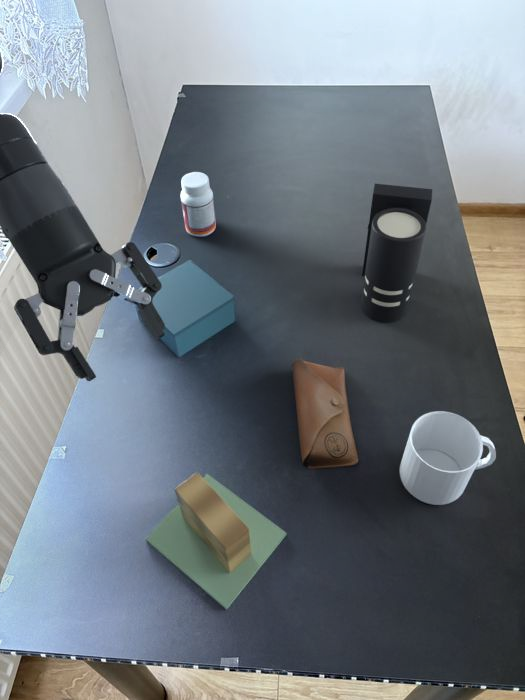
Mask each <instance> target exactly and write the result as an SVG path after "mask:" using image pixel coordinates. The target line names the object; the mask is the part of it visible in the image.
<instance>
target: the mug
mask: <svg viewBox="0 0 525 700" xmlns="http://www.w3.org/2000/svg"><path fill="white" fill-rule="evenodd" d="M406 441H407V442H406V445H405V448H404V451H403V453H402V457H401V461H400V464H399V477H400V481H401V483H402V485H403V486H404V488H405V490H406V491H407V492H408V493H409V494H410V495H412V496H413V497H414V498H415V499H416V500H419V501H420V502H423V503H425V504H429V505H434V506H443V505H448V504H451V503H453V502H454V501H456V500H458V499H459V498H460V497H461V496H462V495H463V494H464V492H465V489H466V487H467V485H468V483H469V481H470V480H471V477H472V476H473V473H474V472H475V470H480V469H484V468H486V467H489V466H491V465H493V463H494V462H495V460H497V451H496V448H495V444H494V443H493V441H492V440H491V439H490V438H489V437H488V436H484V435H481V434H480V432H479V430H478V429H477V428H476V426H475V425H474V424H473V423H471V422H470V421H469V420H468V419H467V418H465V417H463V416H461V415H459V414H457V413H454V412H451V411H445V410H435V411H430V412H427V413H424V414H422V415H421V416H419V417H418V418H417V419H416V420H415V421H414V422H413V424H412V426H411V429H410V432H409V435H408V437H407V440H406ZM484 446H486V447H487V449H488V450H489V452H488V454H487V456H486V457H484V458H482V456H483V452H484Z"/></svg>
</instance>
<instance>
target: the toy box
mask: <svg viewBox="0 0 525 700" xmlns="http://www.w3.org/2000/svg"><path fill="white" fill-rule="evenodd" d="M157 278H158V279H159V281H160V282H161V284H162V288H161V289H160V290H159V291H158V292H157V293H156V295H155V296H154V297H153V299H152V303H153V305H154V307H155V309H156V310H157V312H158V314H159V315H160V317H161V319H162V320H163V322H164V324H165V329H164V330H163V332H164V334H165V335H164V336H163V337H161V338H160V339H159V340H160V341H161V342H162V343H163V344H164V345H166V346H167V347H168V348H169V350H171V352H173V353H174V354H175V355H176V356H177V358H181V357H182V356H184V355H185V354H187V353H188V352H190V351H192V350H193V349H195V348H196V347H198V346H200V345H201V344H203V343H204V342H205V341H206V340H209V338H212V337H213V336H215V335H216V334H218V333H219V332H221V331H222V330H224V329H225V328H227V327H228V326H231V325H232V324H233V323H236V316H235V314H236V313H235V305H234V301H235V300H236V298H235V297H236V296H235V295H233V294H232V293H231V292H230V291H229V290H227V289H226V288H225V287H224V286H222V284H221V283H219V282H218V281H216V280H215V279H214V278H213V277H211V275H209V274H208V273H206V272H205V271H204V270H203V269H201V267H199V266H198V265H197V264H195V262H193V261H192V260H190V259H188V260H187V261H185V262H184V263H182V264H180V265H178V266H176V267H175V268H173V269H170V270H169V271H167V272H166V273H164V274H162V275H161V276H158V277H157ZM137 289H138V290H140V291H142V290H143V289H144V288H143V287H142V286H141V287H139V288H137ZM134 307H135V310H136V313H137V317H138V319H139V320H140V321H141V322H142V323H143V324H144V325H145V323H144V322H143V320H142V318H141V317H140V315H139V313H138V312H137V311H138V310H139V308H138V307H137V306H135V305H134Z"/></svg>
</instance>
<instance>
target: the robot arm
mask: <svg viewBox="0 0 525 700" xmlns="http://www.w3.org/2000/svg"><path fill="white" fill-rule="evenodd" d="M3 57H4V56H3V53H2V50H1V49H0V75H1V74H2V72H3V67H4V58H3ZM0 228H1V232H2V234H3V235H4V236H5V238H7V239H8V241H9V242H10V244H11V245H12V247H13V249H14V251H15V252H16V253H17V255H18V256H19V258H20V260H21V261H22V263H23V264H24V266H25V267H26V269H27V271H28V272H29V274H30V275H31V277H32V278H33V280H34V282H35V284H36V286H37V290H38V292H37V293H35V294H33V295H31V296H29V297H26V298H19V299H18V300H16V302H15V304H14V305H13V306H14V307H13V310H14V311H15V313H16V315H17V317H18V319H19V320H20V322H21V324H22V326H23V327H24V329H25V331H26V332H27V334H28V336H29V338H30V340H31V341H32V343H33V345H34V346H35V349H36V351H37V352H38V354H40V355H41V356H47V355H52V354H53V355H54V354H60V355H61V356H62V357H63V358H64V360H65V361H66V362H67V364H68V366H69V367H70V369H71V370H72V371H73V373H74V375H75V376H76V377H77V378H79V380H83V379H85V380H86V381H87V382H91V381H93V380H95V379H96V378H97V375H96V374H95V372H94V370H93V368H92V367H91V365H90V364H89V363H88V361H87V359H86V357H85V356H84V355H83V353H82V352H81V350H80V348H79V347H78V346H75V345H74V339H75V338H74V337H75V329H76V325H77V317H83V316H85V315H87V314H88V313H90V312H92V311H93V310H94V309H95V308H96V307H100V306H102V305H104V304H106V303H108V302H110V301H112V298H114V299H117V300H119V301H124V302H126V303H129V304H131V305H133V306H134V307H135V306H137V307H138V308H139V310H138V311H137V310H136V313H137V312H138V313H139V315H140V317H141V318H142V320H143V322H144V323H145V324H144V323H143V322H142V323H143V324H144V325H145V327H146V328H147V330H148V332H149V333H150V335H151V337H152V338H153V339H154V340H155V341H156V340H161V339H160V338H161V337H163V336H164V335H165V334H164V332H163V330H164V329H165V324H164V322H163V320H162V319H161V317H160V315H159V314H158V312H157V310H156V309H155V307H154V305H153V303H152V299H153V297H154V296H155V295H156V293H157V292H158V291H159V290H160V289H161V288H162V284H161V282H160V281H159V279H158V278H159V277H158V276H157V275H156V273H155V272H154V270H153V269H152V267H151V266H150V265H149V262H148V261H147V260H146V258H145V257H144V255H143V254H142V252H141V251H140V249H139V248H138V246H137V245H136V244H135V242H132V241H129V242H127V243H125V244H124V245H123V246H122V247H121V248H120V249H118V250H116V251H115V252H113V253H111V254H110V253H108V252H107V251H106V250H105V249H104V248H103V247H102V245H101V243H100V242H99V240H98V238H97V237H96V235H95V233H94V232H93V229H92V228H91V227H90V225H89V223H88V222H87V220H86V218H85V216H84V215H83V213H82V211H81V210H80V209H79V207H78V205H77V203H76V201H75V200H74V198H73V197H72V195H71V193H70V192H69V190H68V189H67V187H66V185H65V184H64V183H63V181H62V180H61V178H59V176H58V175H57V174H56V173H55V171H54V170H53V168H52V167H51V165H50V164H49V162H48V161H47V159H46V157H45V155H44V153H43V152H42V150H41V149H40V147H39V145H38V144H37V142H36V140H35V139H34V137H33V135H32V134H31V133H30V131H29V129H28V128H27V126H26V124H25V123H23V121H22V120H21V119H20V118H19V117H17V116H16V115H14V114H11V113H6V112H4V113H3V112H2V113H0ZM117 264H120V265H121V266H122V268H124V269H130V270H131V272H132V274H133V275H134V276H135V278H136V280H137V281H138V283H139V284H140V286H141V287H143V288H144V289H143V290H142V291H140V290H138V289H139V288H136V287H134V286H133V285H131V284H130V283H128V282H125V281H123V280H121V279H118V278H116V271H117V270H116V269H117ZM42 303H43V304H45V305H47V306H49V307H52V308H54V309H57V310H59V318H58V334H57V339H56V340H52V341H51V339H50V338H49V336H48V334H47V332H46V331H45V329H44V327H43V325H42V324H41V321H40V320H39V317H40V316H41V314H42V309H41V304H42Z"/></svg>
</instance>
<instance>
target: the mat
mask: <svg viewBox="0 0 525 700" xmlns="http://www.w3.org/2000/svg"><path fill="white" fill-rule="evenodd" d="M202 477H203V478H204V480H205V481H206V482H207V483H208V484H209V485H210V486H211V487H212V488H213V489H214V491H215V492H216V493H217V494H218V495H219V496H220V497H221V498H222V499H223V500H224V502H225V503H226V504H227V505H228V506H229V507H230V508H231V509H232V510H233V511H234V513H235V514H236V515H237V516H238V517H239V518H240V519H241V520H242V521H243V522H244V524H245V525H246V526H247V527H248V528H249V535H250V544H251V555H250V556H249V557H248V558H247V559H246V560H244V561H243V562H242V563H241V564H240V565H239V566H238V567H236V568H235V569H234V570H233V571H232V572H231V573H229V571H228V570H227V569H226V568H225V567H224V565H223V564H222V563H221V562H220V561H219V559H218V558H217V557H216V556H215V555H214V554H213V552H212V551H211V550H210V549H209V548H208V546H207V545H206V544H205V543H204V542H203V540H202V539H201V538H200V537H199V536H198V535H197V533H196V532H195V531H194V530H193V529H192V527H191V526H190V525H189V524H188V523H187V521H186V520H185V519H184V518H183V516H182V513H181V509H180V506H179V503H178V504H177V505H176V506H175V507H174V508H172V510H171V511H170V512H169V513H168V514H167V515H166V516H165V517H164V518H163V519H162V520H161V521H160V523H158V525H157V526H156V527H154V529H153V530H152V531H151V532H150V533H149V534H148V535H147V536H146V537H145V541H146V542H147V543H148V544H149V545H150V546H152V547H153V548H154V549H155V550H156V551H157V552H159V553H160V554H161V555H162V556H163V557H164V558H165V559H167V560H168V562H170V563H171V564H172V565H173V566H175V567H176V568H177V569H178V570H179V571H181V572H182V573H183V575H185V576H186V577H187V578H189V579H190V580H191V581H192V582H193V583H195V584H196V585H197V586H198V587H199V588H200V589H201V590H203V591H204V592H205V593H206V594H207V595H208V596H209V597H211V598H212V599H213V600H214V601H215V602H217V603H218V604H219V605H220V606H221V607H223V608H224V609H225V610H228V609H229V608H230V606H231V605H232V604H233V602H234V601H236V599H237V598H238V596H239V595H240V594H241V593H242V591H243V590H244V589H245V588H246V586H247V585H248V584H249V582H251V580H252V579H253V578H254V576H255V575H256V574H257V573H258V571H260V569H261V568H262V566H264V564H265V563H266V561H267V560H268V559H269V558H270V556H271V555H272V554H273V553H274V552H275V550H276V549H277V547H278V546H279V545H280V544H281V542H282V541H283V540H284V539H285V537H286V536H287V534H288V533H287V532H286V531H285V530H283V529H282V528H281V527H280V526H278V525H277V524H275V523H274V522H273V521H271V519H268V517H266V516H265V515H263V514H262V513H261V512H259V511H258V510H257V509H255V508H254V507H253V506H251V505H250V504H249V503H247V502H246V501H244V500H243V499H242V498H241V497H239V496H238V495H237V494H235V493H234V492H233V491H231V490H230V489H229V488H227V487H226V486H225V485H223V484H222V483H220V482H219V481H217V480H216V479H215V478H214V477H213V476H211V475H210V474H209V473H206V474H205V475H204V476H202Z"/></svg>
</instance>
